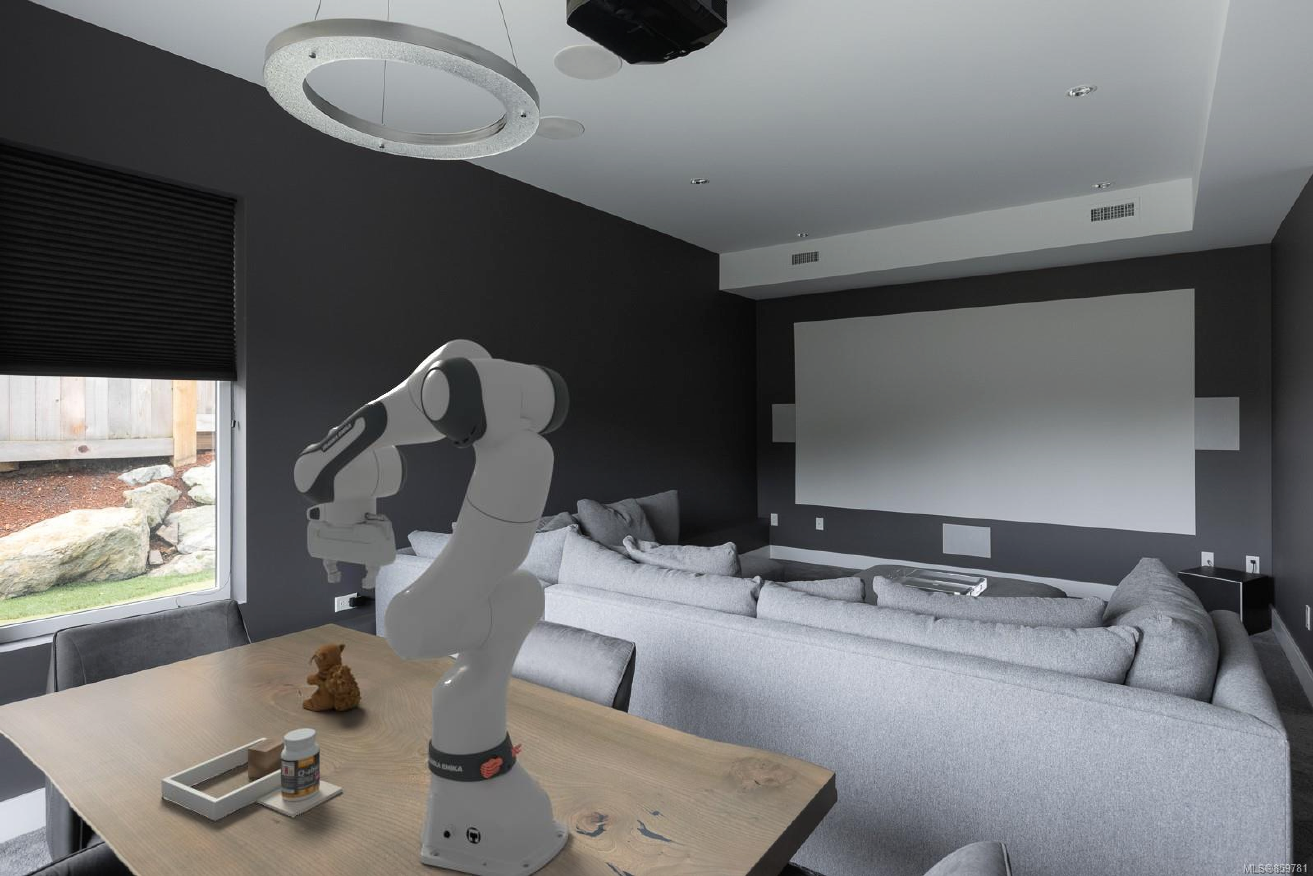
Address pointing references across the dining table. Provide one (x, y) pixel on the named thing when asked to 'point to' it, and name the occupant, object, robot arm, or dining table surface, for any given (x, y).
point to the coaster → (300, 806)
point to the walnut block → (264, 758)
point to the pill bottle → (300, 765)
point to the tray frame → (201, 802)
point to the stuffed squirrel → (332, 681)
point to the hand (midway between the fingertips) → (351, 584)
